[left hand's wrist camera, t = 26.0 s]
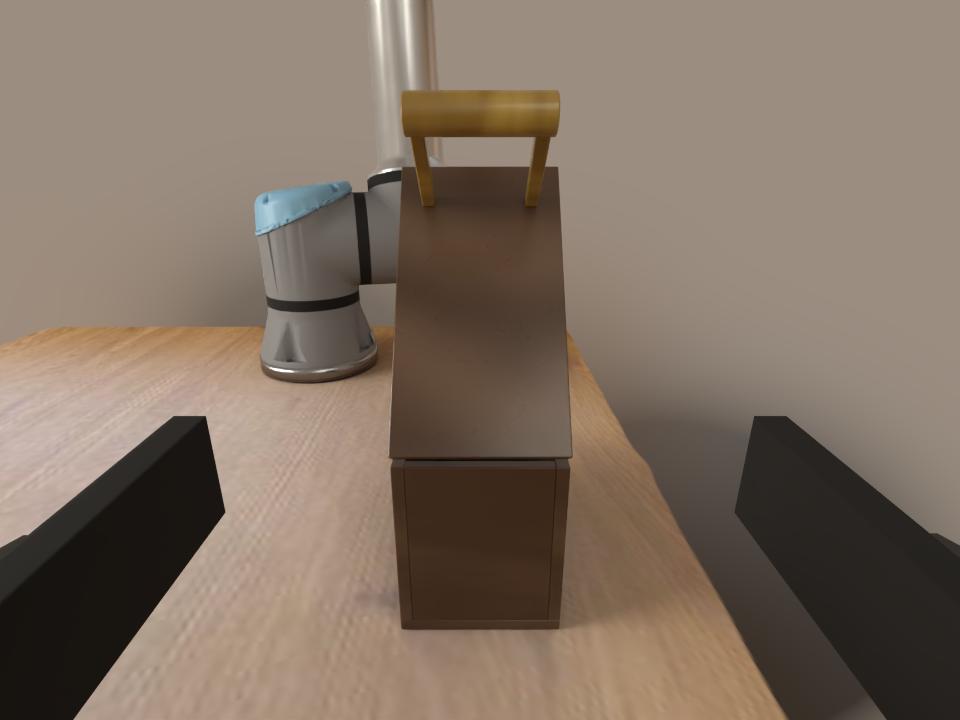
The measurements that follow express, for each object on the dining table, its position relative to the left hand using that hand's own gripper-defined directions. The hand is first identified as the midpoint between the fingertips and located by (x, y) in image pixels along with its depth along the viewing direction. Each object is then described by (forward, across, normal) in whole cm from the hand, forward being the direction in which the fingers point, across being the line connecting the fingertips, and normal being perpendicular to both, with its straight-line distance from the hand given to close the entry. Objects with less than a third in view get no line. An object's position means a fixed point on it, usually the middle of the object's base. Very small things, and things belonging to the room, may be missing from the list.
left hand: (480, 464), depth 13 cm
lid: (+17, 0, -1) cm, 17 cm away
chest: (+20, 0, -18) cm, 27 cm away
